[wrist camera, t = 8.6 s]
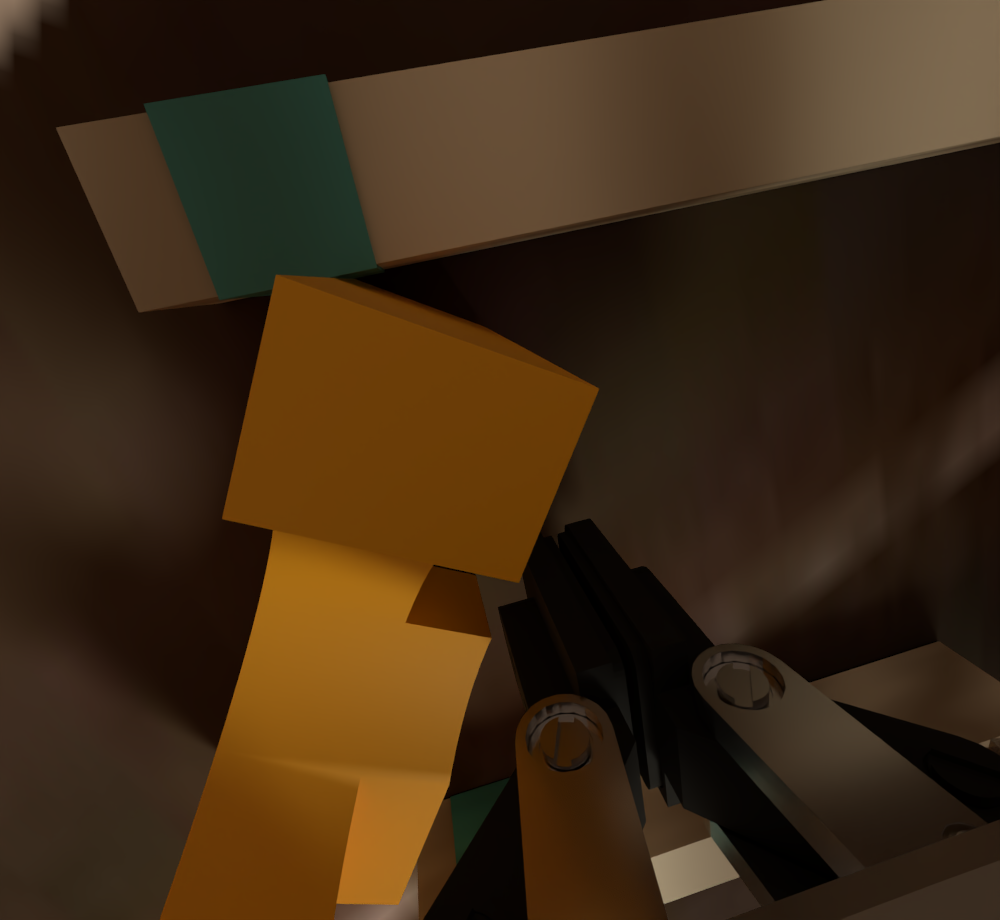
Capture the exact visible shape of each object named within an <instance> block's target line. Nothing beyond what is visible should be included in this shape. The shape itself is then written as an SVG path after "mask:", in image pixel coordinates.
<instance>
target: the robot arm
mask: <svg viewBox="0 0 1000 920" xmlns="http://www.w3.org/2000/svg"><path fill="white" fill-rule="evenodd" d="M558 544H559V548H558V546H557V545H556V543H555V541H554V539H553V538H552V536H548V537H544V538H543V536H542V534H541V533H539V535H538V538H537V540H536V542H535V545H534V547H533V550H532V552H531V554H530V557H529V559H528V562H527V564H526V567H525V569H524V571H523V574H522V575H523V580H524V584H525V589H526V594H527V599H525V600H522V601H518V602H515V603H511V604H507V605H504V606H500V607H498V610H499V614H500V619H501V623H502V627H503V631H504V635H505V639H506V643H507V647H508V651H509V655H510V659H511V663H512V666H513V670H514V674H515V677H516V681H517V684H518V688H519V691H520V695H521V698H522V702H523V705H524V709H525V712H526V713H525V714H524V715H523V716H522V718H521V720H520V723H519V725H518V727H517V729H516V739H515V748H516V762H517V768H516V769H515V771H514V773H513V774H512V776H511V777H510V779H509V781H508V782H507V784H506V786H505V787H504V789H503V790H502V792H501V794H500V795H499V797H498V799H497V800H496V802H495V803H494V805H493V807H492V808H491V810H490V812H489V813H488V815H487V816H486V818H485V820H484V821H483V823H482V825H481V826H480V828H479V829H478V831H477V833H476V834H475V836H474V837H473V839H472V841H471V842H470V844H469V846H468V847H467V849H466V850H465V852H464V854H463V855H462V857H461V859H460V860H459V862H458V863H457V865H456V867H455V868H454V870H453V872H452V873H451V875H450V876H449V878H448V880H447V881H446V883H445V885H444V886H443V888H442V889H441V891H440V893H439V894H438V896H437V898H436V899H435V901H434V902H433V904H432V906H431V907H430V909H429V911H428V912H427V914H426V915H425V917H424V919H423V920H668V917H667V913H666V910H665V906H664V903H663V899H662V896H661V892H660V889H659V885H658V882H657V878H656V875H655V871H654V868H653V864H652V861H651V857H650V854H649V850H648V847H647V843H646V840H645V836H644V833H643V828H644V826H645V823H646V816H645V809H644V801H643V793H642V786H641V778H640V775H641V777H642V779H643V781H644V783H645V785H646V787H647V788H648V789H649V790H650V789H653V788H656V787H658V789H659V791H660V793H661V794H662V796H663V798H664V800H665V802H666V804H667V806H668V807H671V806H674V805H677V804H680V803H681V805H682V807H683V808H684V809H686V810H688V811H690V812H692V813H695V814H697V815H699V816H701V817H702V819H703V823H704V825H705V827H706V829H707V831H708V832H709V834H710V836H711V838H712V839H713V840H714V842H715V843H716V845H717V846H718V847H719V849H720V850H721V851H722V853H723V854H724V856H725V857H726V858H727V860H728V861H729V862H730V864H731V865H732V867H733V868H734V869H735V871H736V872H737V874H738V875H739V876H740V878H741V879H742V880H743V882H744V883H745V885H746V886H747V887H748V889H749V890H750V892H751V893H752V894H753V896H754V897H755V898H756V900H757V901H758V903H759V904H760V905H761V907H759V908H757V909H754V910H751V911H749V912H746V913H743V914H740V915H738V916H735V917H732V918H730V919H727V920H1000V738H992V739H990V743H989V747H984V746H982V745H981V744H978V743H975V742H973V741H970V740H968V739H965V738H962V737H960V736H957V735H953V734H950V733H946V732H943V731H939V730H936V729H932V728H929V727H925V726H922V725H918V724H915V723H911V722H908V721H905V720H901V719H898V718H894V717H891V716H887V715H884V714H880V713H877V712H873V711H870V710H866V709H863V708H859V707H856V706H852V705H849V704H845V703H842V702H838V701H835V700H831V699H829V698H828V697H827V696H825V695H824V694H823V693H822V692H820V691H819V690H818V689H816V688H815V687H814V686H813V685H811V684H810V683H809V682H808V681H806V680H805V679H804V678H802V677H801V676H800V675H799V674H797V673H796V672H795V671H794V670H792V669H791V668H790V667H789V666H787V665H786V664H785V663H783V662H782V661H781V660H780V659H778V658H776V657H775V656H773V655H771V654H770V653H768V652H767V651H764V650H761V649H758V648H756V647H753V646H749V645H742V644H721V645H717V646H714V645H713V643H712V642H711V641H710V640H709V639H708V638H707V636H706V635H705V634H704V633H703V632H702V631H701V629H700V628H699V627H698V626H697V625H696V624H695V622H694V621H693V620H692V619H691V618H690V617H689V615H688V614H687V613H686V612H685V611H684V610H683V608H682V607H681V606H680V605H679V604H678V603H677V601H676V600H675V599H674V598H673V597H672V596H671V594H670V593H669V592H668V591H667V590H666V589H665V587H664V586H663V585H662V584H661V583H660V582H659V580H658V579H657V578H656V577H655V576H654V575H653V573H652V572H651V571H650V570H649V569H648V568H647V567H644V566H641V567H638V568H634V569H630V568H629V567H628V565H627V564H626V563H625V562H624V560H623V559H622V558H621V557H620V555H619V554H618V553H617V552H616V550H615V549H614V548H613V547H612V545H611V544H610V543H609V542H608V540H607V539H606V538H605V536H604V535H603V534H602V533H601V531H600V530H599V529H598V528H597V526H596V525H595V524H594V523H593V521H592V520H591V519H586V520H582V521H578V522H574V523H571V524H567V525H565V532H563V533H559V534H558ZM559 549H560V550H559Z"/></svg>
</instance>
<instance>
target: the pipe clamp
mask: <svg viewBox="0 0 1000 920" xmlns="http://www.w3.org/2000/svg"><path fill="white" fill-rule="evenodd" d="M598 390H599V388H597V387H595V386H593V385H591V384H590V383H588V382H586V381H584V380H582V379H580V378H579V377H577V376H575V375H573V374H571V373H569V372H567V371H566V370H564V369H562V368H560V367H558V366H556V365H555V364H553V363H551V362H549V361H547V360H545V359H543V358H542V357H540V356H538V355H536V354H534V353H532V352H531V351H529V350H527V349H525V348H523V347H521V346H519V345H518V344H516V343H514V342H512V341H510V340H508V339H507V338H505V337H503V336H501V335H499V334H497V333H495V332H494V331H492V330H490V329H488V328H486V327H484V326H482V325H479V324H476V323H474V322H471V321H468V320H466V319H463V318H460V317H457V316H455V315H452V314H449V313H446V312H444V311H441V310H438V309H435V308H433V307H430V306H427V305H425V304H422V303H419V302H416V301H414V300H411V299H408V298H405V297H403V296H400V295H397V294H394V293H392V292H389V291H386V290H384V289H381V288H378V287H375V286H373V285H370V284H367V283H364V282H362V281H359V280H356V279H344V278H326V277H308V276H291V275H276V276H275V281H274V285H273V290H272V295H271V299H270V304H269V308H268V313H267V317H266V322H265V326H264V331H263V335H262V340H261V344H260V349H259V353H258V358H257V362H256V367H255V372H254V376H253V381H252V385H251V390H250V394H249V399H248V403H247V408H246V412H245V417H244V421H243V426H242V430H241V435H240V439H239V444H238V449H237V453H236V458H235V462H234V467H233V471H232V476H231V480H230V485H229V489H228V494H227V498H226V503H225V507H224V512H223V516H222V519H224V520H229V521H233V522H238V523H243V524H247V525H252V526H256V527H261V528H266V529H270V530H273V534H272V541H271V547H270V553H269V558H268V563H267V568H266V573H265V577H264V582H263V587H262V591H261V595H260V599H259V603H258V608H257V611H256V615H255V619H254V623H253V627H252V631H251V635H250V638H249V642H248V646H247V649H246V653H245V657H244V660H243V664H242V667H241V671H240V674H239V678H238V681H237V685H236V688H235V691H234V695H233V698H232V701H231V705H230V708H229V711H228V715H227V718H226V721H225V725H224V728H223V731H222V734H221V737H220V741H219V744H218V747H217V750H216V753H215V756H214V760H213V763H212V766H211V769H210V772H209V775H208V778H207V781H206V784H205V788H204V791H203V794H202V797H201V800H200V803H199V806H198V809H197V812H196V815H195V818H194V821H193V824H192V827H191V830H190V833H189V836H188V839H187V842H186V845H185V848H184V851H183V854H182V856H181V859H180V862H179V865H178V868H177V871H176V874H175V877H174V880H173V883H172V886H171V888H170V891H169V894H168V897H167V900H166V903H165V906H164V909H163V911H162V914H161V917H160V920H334V915H335V909H336V904H394V905H398V904H399V902H400V900H401V897H402V895H403V893H404V890H405V888H406V886H407V883H408V881H409V878H410V876H411V874H412V871H413V869H414V867H415V864H416V862H417V860H418V857H419V855H420V853H421V850H422V848H423V845H424V843H425V841H426V838H427V836H428V834H429V831H430V829H431V827H432V824H433V822H434V820H435V817H436V815H437V813H438V810H439V808H440V805H441V803H442V801H443V798H444V796H445V794H446V791H447V789H448V787H449V784H450V778H451V772H452V767H453V762H454V757H455V752H456V747H457V743H458V738H459V734H460V730H461V726H462V722H463V718H464V714H465V711H466V707H467V703H468V700H469V697H470V694H471V690H472V687H473V684H474V681H475V678H476V675H477V673H478V670H479V667H480V664H481V662H482V659H483V657H484V655H485V652H486V650H487V647H488V645H489V643H490V641H491V639H492V638H491V634H490V630H489V626H488V622H487V618H486V614H485V610H484V606H483V602H482V598H481V594H480V590H479V586H478V582H477V578H476V575H472V574H467V573H463V572H458V571H453V570H449V569H444V568H439V567H435V566H433V565H438V566H443V567H447V568H452V569H456V570H461V571H466V572H470V573H475V574H480V575H484V576H489V577H494V578H498V579H503V580H508V581H512V582H517V583H519V581H520V579H521V576H522V574H523V571H524V569H525V567H526V564H527V562H528V559H529V557H530V554H531V552H532V550H533V547H534V545H535V542H536V540H537V538H538V535H539V533H540V530H541V528H542V526H543V523H544V521H545V518H546V516H547V513H548V511H549V509H550V506H551V504H552V501H553V499H554V497H555V494H556V492H557V489H558V487H559V484H560V482H561V480H562V477H563V475H564V472H565V470H566V468H567V465H568V463H569V460H570V458H571V456H572V453H573V451H574V448H575V446H576V443H577V441H578V439H579V436H580V434H581V431H582V429H583V427H584V424H585V422H586V419H587V417H588V415H589V412H590V410H591V407H592V405H593V402H594V400H595V398H596V395H597V393H598Z"/></svg>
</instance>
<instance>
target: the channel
mask: <svg viewBox="0 0 1000 920" xmlns="http://www.w3.org/2000/svg"><path fill="white" fill-rule="evenodd" d="M144 107H145V109H146V112H147V113H141V114H134V115H128V116H122V117H116V118H110V119H104V120H98V121H92V122H86V123H80V124H74V125H68V126H62V127H56V129H57V132H58V134H59V136H60V138H61V141H62V143H63V145H64V147H65V149H66V152H67V154H68V156H69V158H70V161H71V163H72V165H73V167H74V170H75V172H76V174H77V176H78V178H79V181H80V183H81V185H82V187H83V190H84V192H85V194H86V196H87V199H88V201H89V203H90V205H91V207H92V210H93V212H94V214H95V216H96V219H97V221H98V223H99V225H100V227H101V230H102V232H103V234H104V236H105V239H106V241H107V243H108V245H109V248H110V250H111V252H112V254H113V256H114V259H115V261H116V263H117V265H118V268H119V270H120V272H121V274H122V277H123V279H124V281H125V283H126V285H127V288H128V290H129V292H130V294H131V297H132V299H133V301H134V303H135V306H136V308H137V310H138V312H139V313H140V312H149V311H157V310H166V309H175V308H184V307H193V306H201V305H210V304H219V303H225V302H229V301H234V300H239V299H244V298H249V297H258V296H268V295H272V290H273V285H274V281H275V276H276V275H291V276H308V277H326V278H344V279H355V278H360V277H365V276H370V275H375V274H379V273H384V272H385V269H389V268H394V267H399V266H404V265H409V264H414V263H418V262H423V261H428V260H433V259H438V258H443V257H448V256H452V255H457V254H462V253H467V252H472V251H477V250H481V249H486V248H491V247H496V246H501V245H506V244H511V243H515V242H520V241H525V240H530V239H535V238H540V237H544V236H549V235H554V234H559V233H564V232H569V231H574V230H578V229H583V228H588V227H593V226H598V225H603V224H608V223H612V222H617V221H622V220H627V219H632V218H637V217H641V216H646V215H651V214H656V213H661V212H666V211H671V210H675V209H680V208H685V207H690V206H695V205H700V204H704V203H709V202H714V201H719V200H724V199H729V198H734V197H738V196H743V195H748V194H753V193H758V192H763V191H767V190H772V189H777V188H782V187H787V186H792V185H797V184H801V183H806V182H811V181H816V180H821V179H826V178H831V177H835V176H840V175H845V174H850V173H855V172H860V171H864V170H869V169H874V168H879V167H884V166H889V165H894V164H898V163H903V162H908V161H913V160H918V159H923V158H927V157H932V156H937V155H942V154H947V153H952V152H957V151H961V150H966V149H971V148H976V147H981V146H986V145H990V144H995V143H1000V0H824V1H818V2H812V3H806V4H800V5H794V6H788V7H782V8H776V9H770V10H764V11H758V12H752V13H746V14H740V15H733V16H727V17H721V18H715V19H709V20H703V21H697V22H691V23H685V24H679V25H673V26H667V27H661V28H655V29H649V30H643V31H637V32H631V33H625V34H618V35H612V36H606V37H600V38H594V39H588V40H582V41H576V42H570V43H564V44H558V45H552V46H546V47H540V48H534V49H528V50H522V51H516V52H510V53H504V54H498V55H491V56H485V57H479V58H473V59H467V60H461V61H455V62H449V63H443V64H437V65H431V66H425V67H419V68H413V69H407V70H401V71H395V72H389V73H383V74H376V75H370V76H364V77H358V78H352V79H346V80H340V81H334V82H328V80H327V77H326V75H325V74H322V75H316V76H310V77H304V78H298V79H292V80H286V81H280V82H274V83H267V84H261V85H255V86H249V87H243V88H237V89H231V90H225V91H218V92H212V93H206V94H200V95H194V96H188V97H182V98H176V99H170V100H163V101H157V102H151V103H145V104H144ZM810 684H811V685H813V686H814V687H815V688H816V689H818V690H819V691H820V692H822V693H823V694H824V695H825V696H827V697H828V698H829V699H831V700H835V701H838V702H842V703H845V704H849V705H852V706H856V707H859V708H863V709H866V710H870V711H873V712H877V713H880V714H884V715H887V716H891V717H894V718H898V719H901V720H905V721H908V722H911V723H915V724H918V725H922V726H925V727H929V728H932V729H936V730H939V731H943V732H946V733H950V734H953V735H957V736H960V737H962V738H965V739H968V740H970V741H973V742H975V743H978V744H981V745H982V746H984V747H989V743H990V739H992V738H1000V682H999V681H998V680H996V679H995V678H993V677H992V676H990V675H989V674H987V673H986V672H984V671H983V670H981V669H980V668H978V667H977V666H975V665H974V664H972V663H971V662H969V661H968V660H966V659H965V658H963V657H962V656H960V655H959V654H957V653H956V652H954V651H953V650H951V649H950V648H948V647H947V646H945V645H944V644H942V643H941V642H939V641H938V642H935V643H932V644H929V645H925V646H922V647H919V648H916V649H913V650H910V651H907V652H904V653H900V654H897V655H894V656H891V657H888V658H885V659H882V660H879V661H876V662H872V663H869V664H866V665H863V666H860V667H857V668H854V669H851V670H848V671H844V672H841V673H838V674H835V675H832V676H829V677H826V678H823V679H820V680H816V681H813V682H810ZM640 778H641V786H642V793H643V801H644V809H645V816H646V823H645V826H644V828H643V833H644V836H645V840H646V843H647V847H648V850H649V854H650V857H651V861H652V864H653V868H654V871H655V875H656V878H657V882H658V885H659V889H660V892H661V896H662V899H663V903H664V904H665V903H668V902H671V901H674V900H677V899H679V898H682V897H685V896H688V895H690V894H693V893H696V892H699V891H702V890H704V889H707V888H710V887H713V886H715V885H718V884H721V883H724V882H727V881H729V880H732V879H735V878H738V877H740V876H739V875H738V874H737V872H736V871H735V869H734V868H733V867H732V865H731V864H730V862H729V861H728V860H727V858H726V857H725V856H724V854H723V853H722V851H721V850H720V849H719V847H718V846H717V845H716V843H715V842H714V840H713V839H712V838H711V836H710V834H709V832H708V831H707V829H706V827H705V825H704V823H703V819H702V817H701V816H699V815H697V814H695V813H692V812H690V811H688V810H686V809H684V808H683V807H682V805H681V803H680V804H677V805H674V806H671V807H668V806H667V804H666V802H665V800H664V798H663V796H662V794H661V793H660V791H659V789H658V787H656V788H653V789H650V790H649V789H648V788H647V787H646V785H645V783H644V781H643V779H642V777H641V775H640ZM509 779H510V778H507V779H504V780H501V781H498V782H495V783H492V784H489V785H485V786H482V787H479V788H476V789H473V790H470V791H467V792H464V793H460V794H457V795H454V796H451V797H450V798H449V799H446V800H443V801H442V803H441V805H440V808H439V810H438V813H437V815H436V817H435V820H434V822H433V824H432V827H431V829H430V831H429V834H428V836H427V838H426V841H425V843H424V845H423V848H422V850H421V853H420V855H419V857H418V860H417V861H418V901H419V920H423V919H424V917H425V915H426V914H427V912H428V911H429V909H430V907H431V906H432V904H433V902H434V901H435V899H436V898H437V896H438V894H439V893H440V891H441V889H442V888H443V886H444V885H445V883H446V881H447V880H448V878H449V876H450V875H451V873H452V872H453V870H454V868H455V867H456V865H457V863H458V862H459V860H460V859H461V857H462V855H463V854H464V852H465V850H466V849H467V847H468V846H469V844H470V842H471V841H472V839H473V837H474V836H475V834H476V833H477V831H478V829H479V828H480V826H481V825H482V823H483V821H484V820H485V818H486V816H487V815H488V813H489V812H490V810H491V808H492V807H493V805H494V803H495V802H496V800H497V799H498V797H499V795H500V794H501V792H502V790H503V789H504V787H505V786H506V784H507V782H508V781H509Z"/></svg>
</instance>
